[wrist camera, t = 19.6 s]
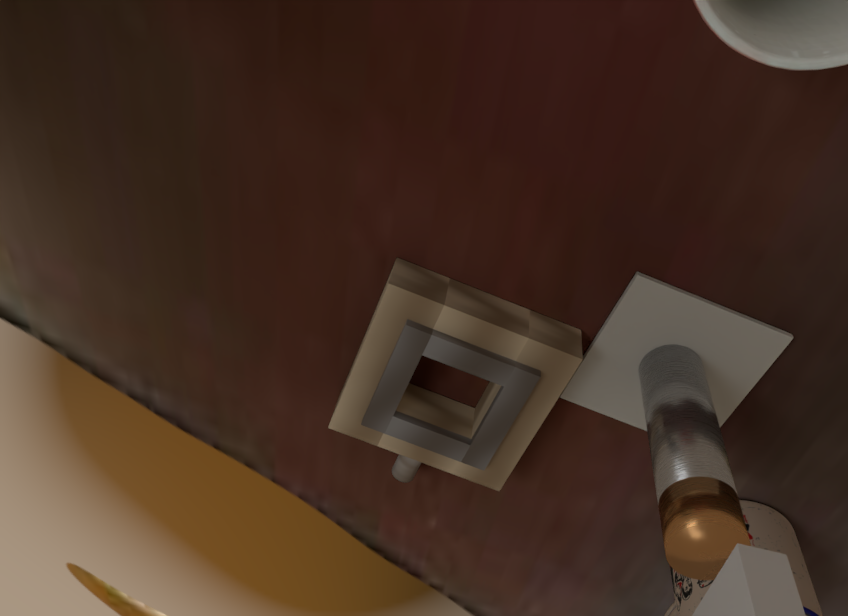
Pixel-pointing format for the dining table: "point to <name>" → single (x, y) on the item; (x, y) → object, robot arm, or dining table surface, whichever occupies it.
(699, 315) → the mat
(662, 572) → the dining table surface
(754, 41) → the mug
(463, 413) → the chuck block
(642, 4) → the dining table surface
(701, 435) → the copper capped silver cylinder
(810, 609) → the teacup with lid
